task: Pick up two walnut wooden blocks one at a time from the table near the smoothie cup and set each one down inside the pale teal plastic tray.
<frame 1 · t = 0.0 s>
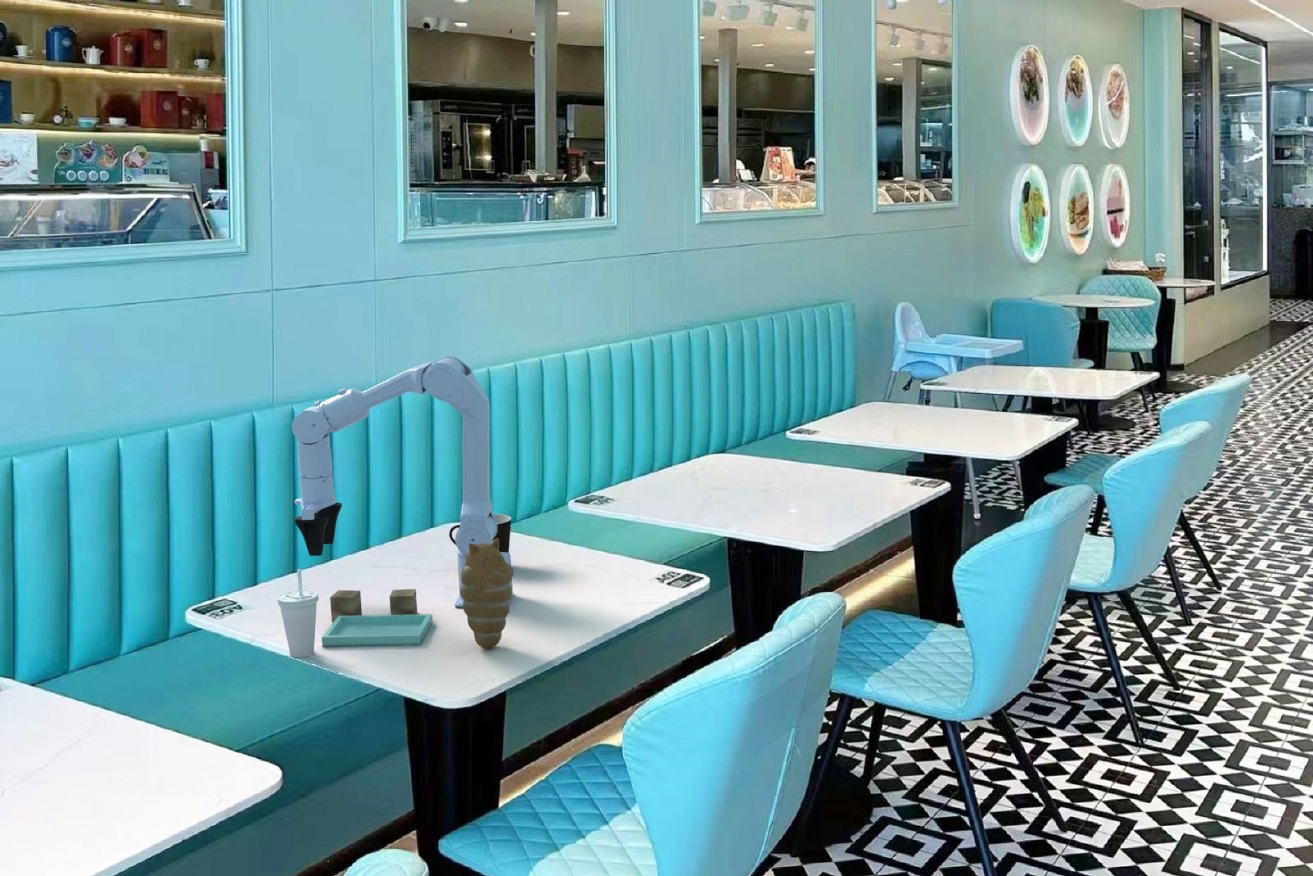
hand: (321, 549, 235), 10 cm above the table, tool pointing down, fingers open, 7 cm apart
smoothie: (302, 654, 212), on the table
block b: (347, 618, 229), on the table
tray: (378, 634, 220), on the table
coffee mug: (485, 569, 258), on the table
cat ice cream: (488, 649, 212), on the table
block a: (404, 617, 229), on the table
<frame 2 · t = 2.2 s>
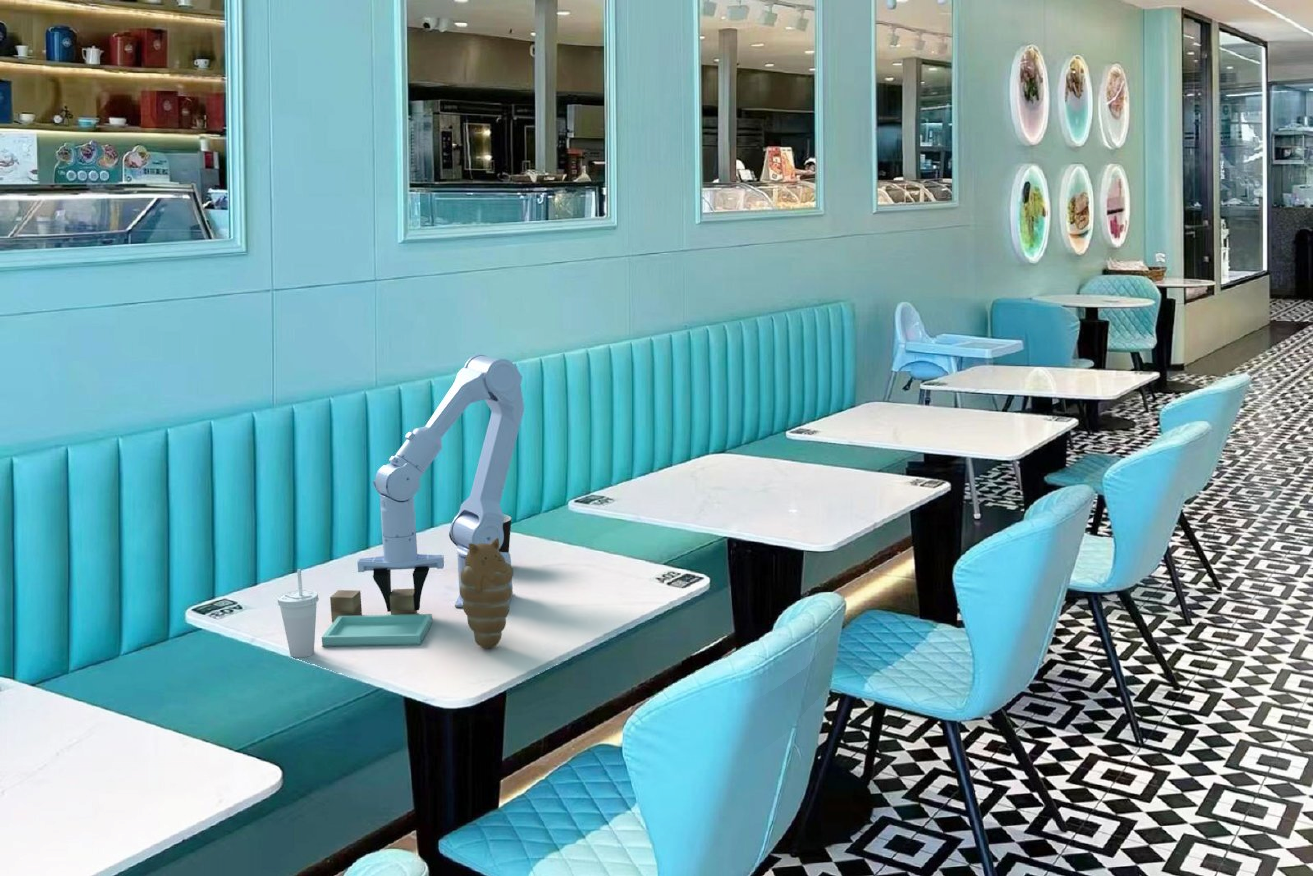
hand: (403, 609, 228), 1 cm above the table, tool pointing down, fingers closed on block a, 4 cm apart
block a: (404, 617, 229), on the table, touching gripper
everything else where it was.
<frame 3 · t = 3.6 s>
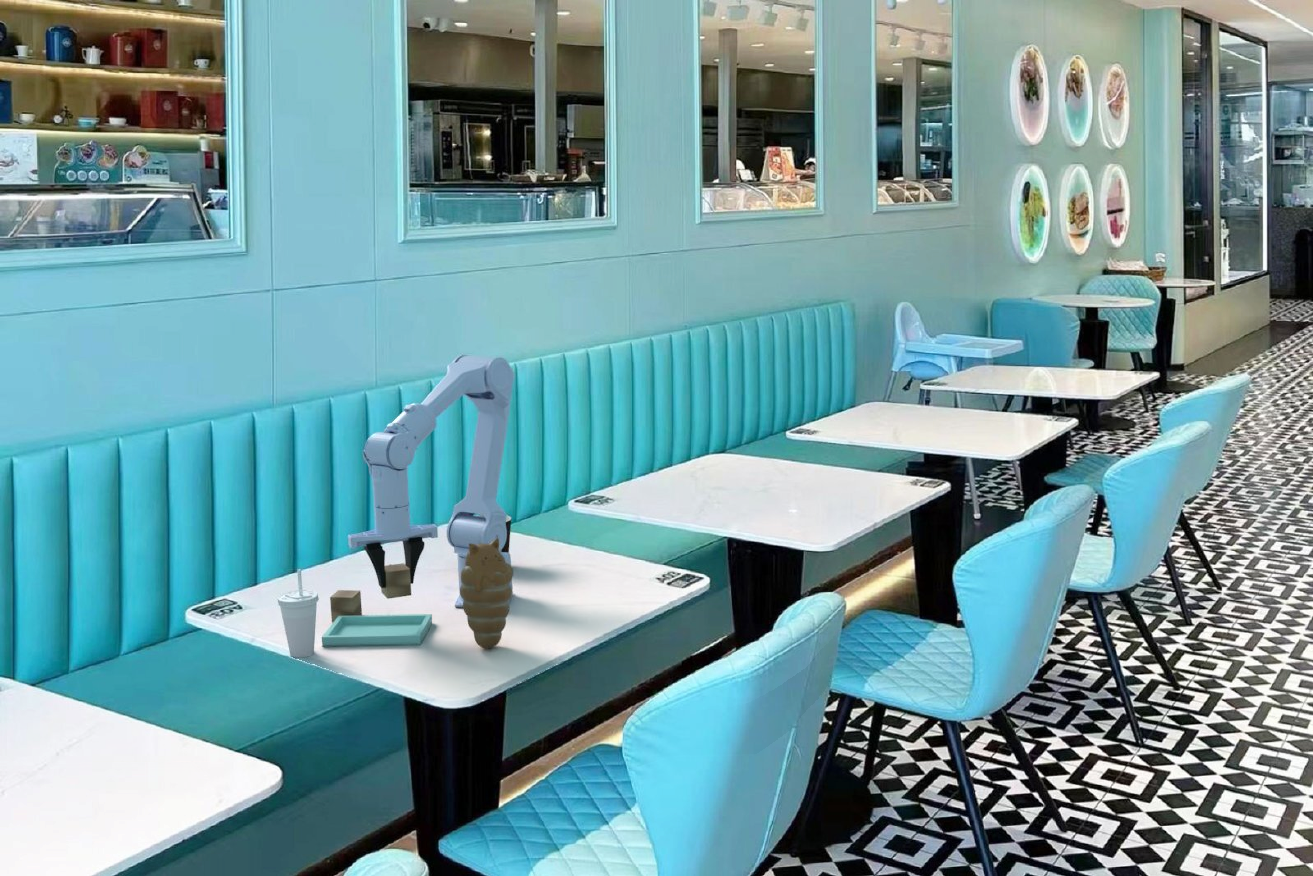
hand: (396, 584, 219), 8 cm above the table, tool pointing down, fingers closed on block a, 4 cm apart
block a: (396, 593, 219), point 7 cm above the table, touching gripper
everything else where it was.
when the fingers open (3 cm above the table, at t = 5.0 s): block a drops 1 cm, resting on tray.
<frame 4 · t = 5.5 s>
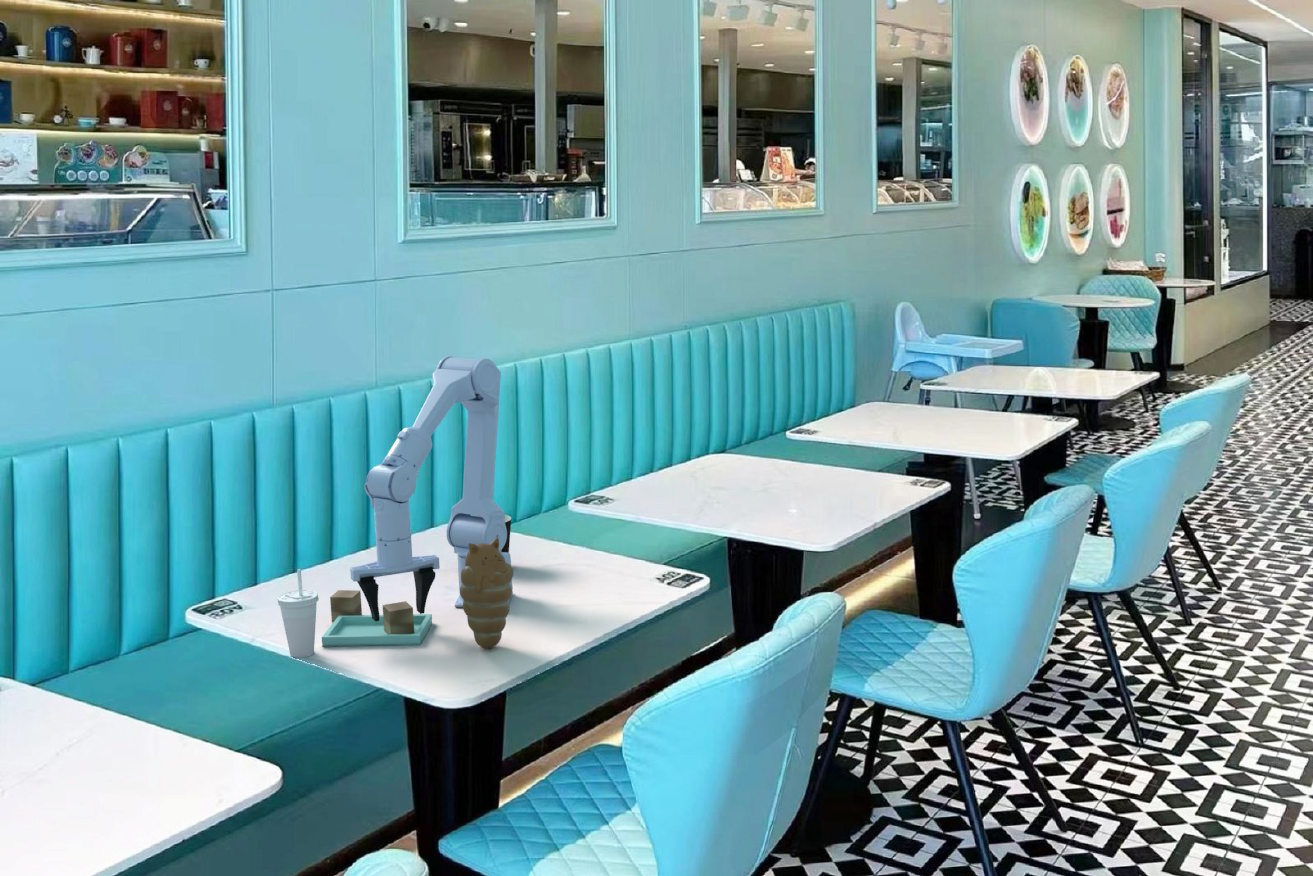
hand: (398, 615, 219), 3 cm above the table, tool pointing down, fingers open, 7 cm apart
block a: (399, 632, 220), resting on tray
everything else where it was.
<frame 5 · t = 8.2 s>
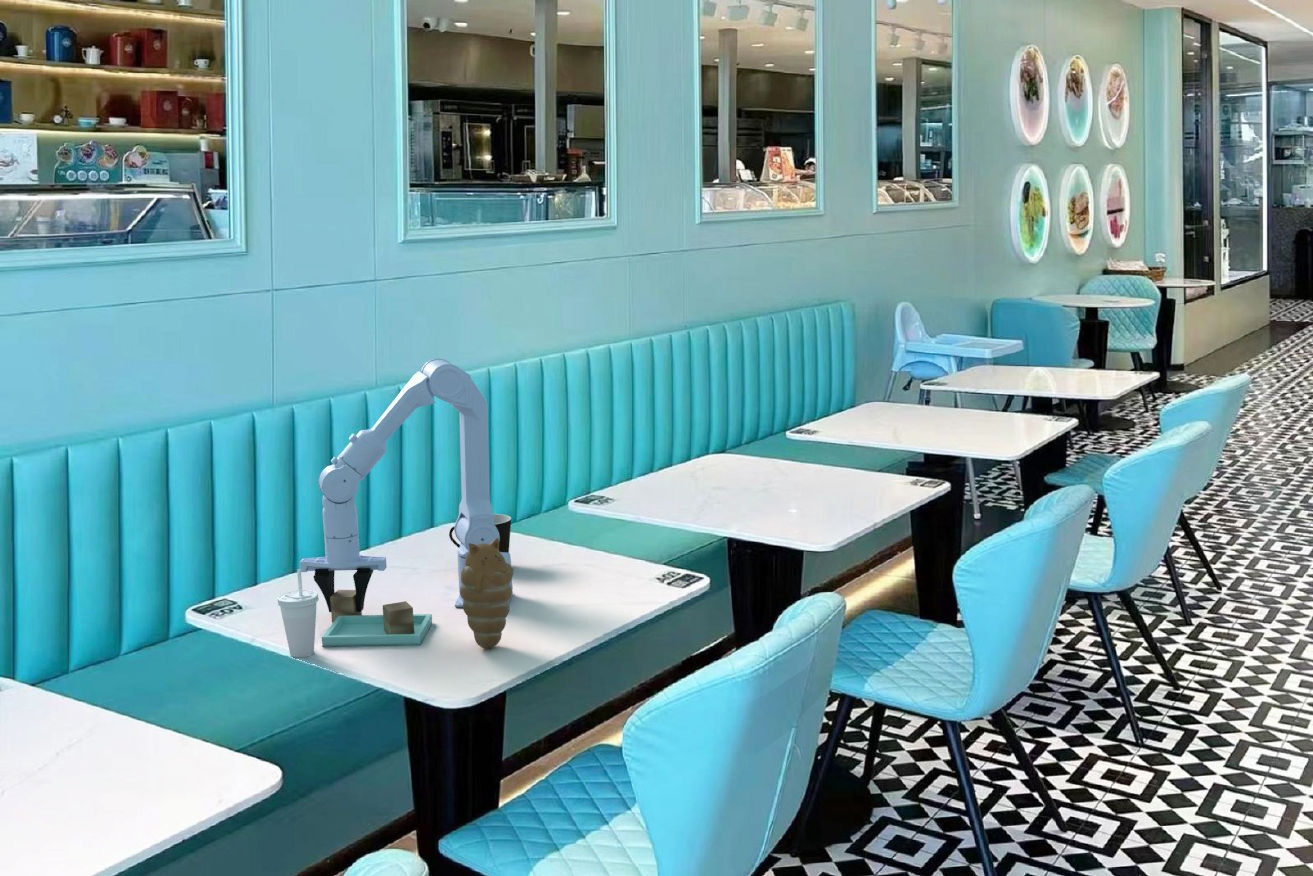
hand: (346, 610, 229), 1 cm above the table, tool pointing down, fingers closed on block b, 4 cm apart
block b: (347, 618, 229), on the table, touching gripper
everything else where it was.
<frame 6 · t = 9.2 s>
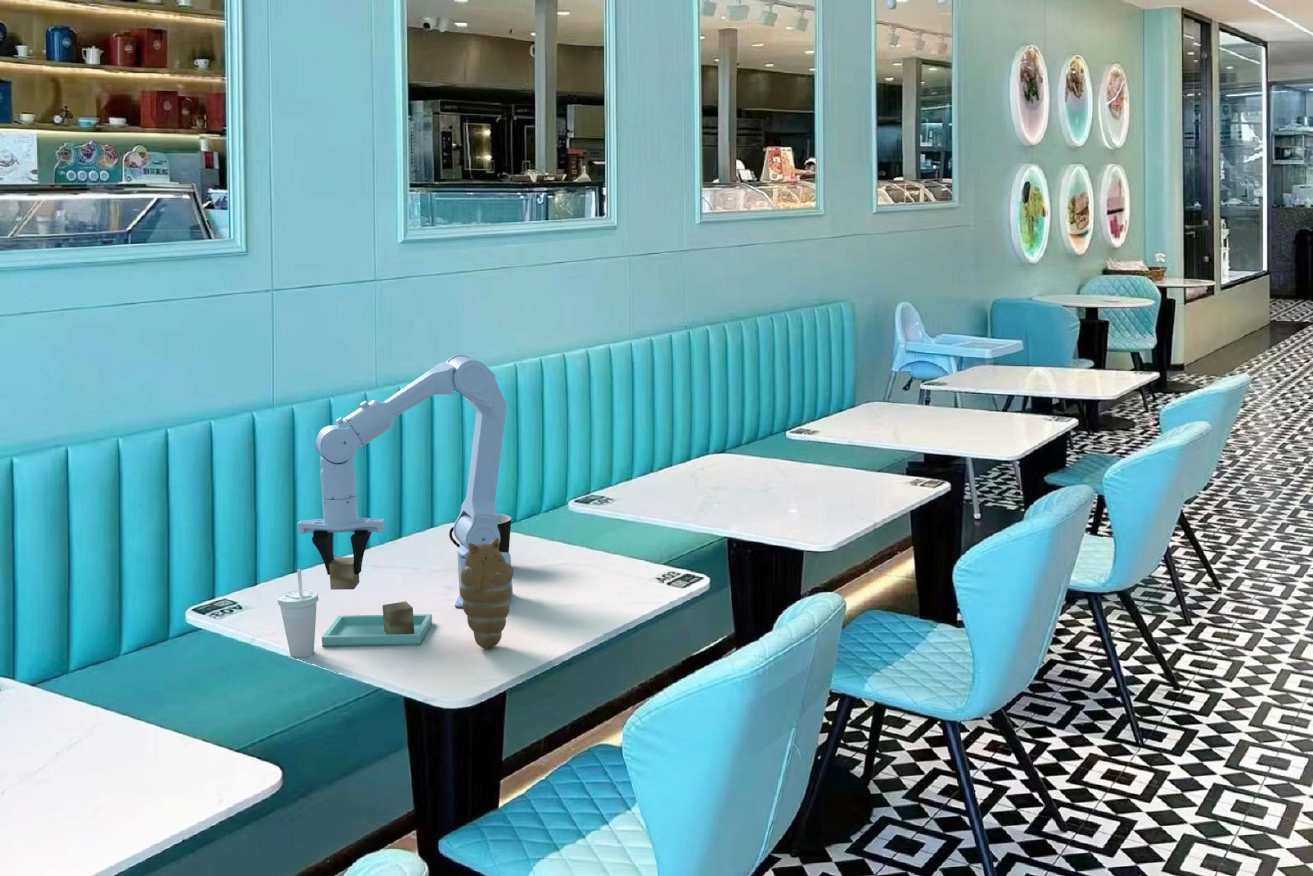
hand: (344, 573, 226), 8 cm above the table, tool pointing down, fingers closed on block b, 4 cm apart
block b: (345, 585, 227), point 6 cm above the table, touching gripper
everything else where it was.
when the fingers open (3 cm above the table, at t = 11.0 s): block b stays where it is, resting on tray.
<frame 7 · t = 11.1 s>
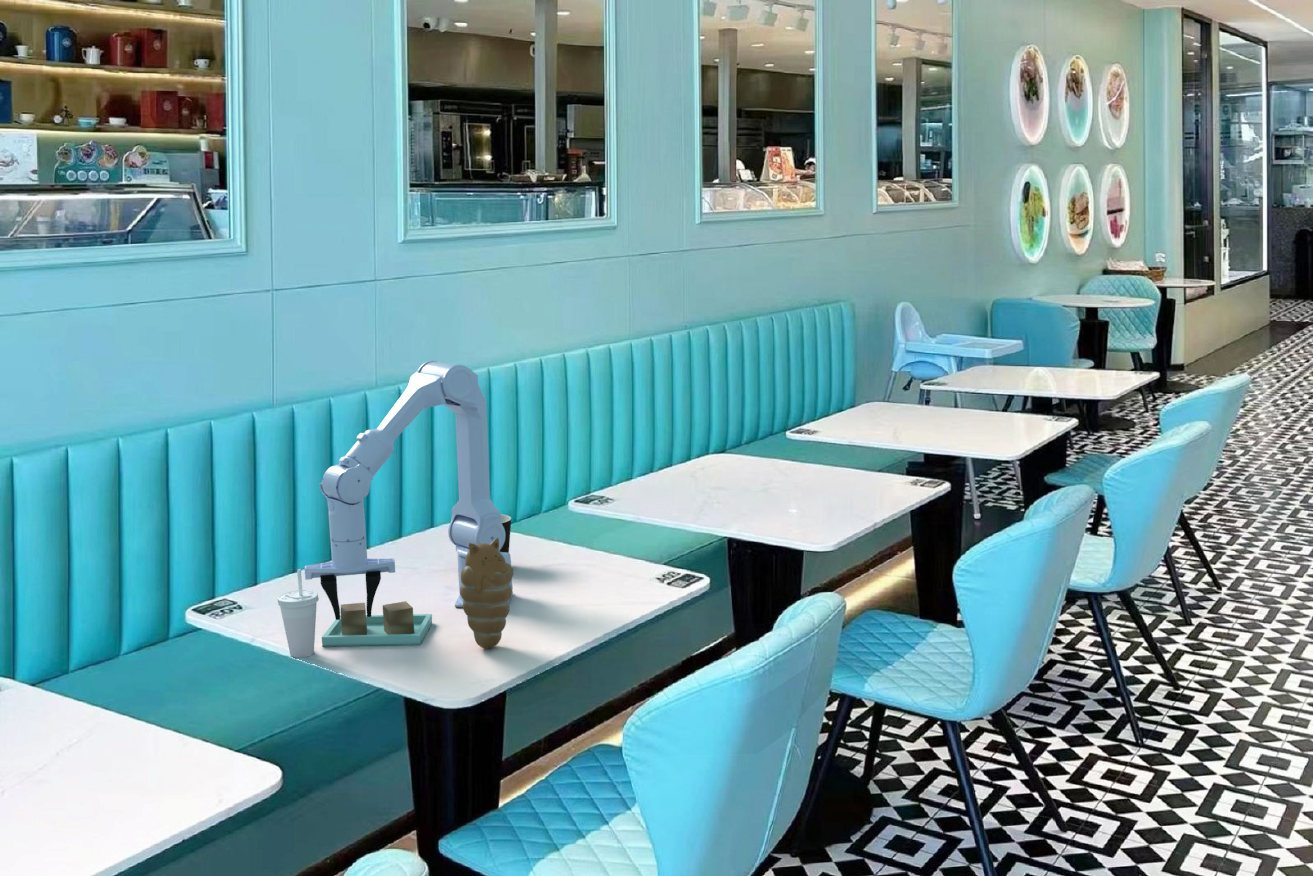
hand: (353, 616, 219), 3 cm above the table, tool pointing down, fingers open, 4 cm apart
block b: (354, 632, 220), resting on tray
everything else where it was.
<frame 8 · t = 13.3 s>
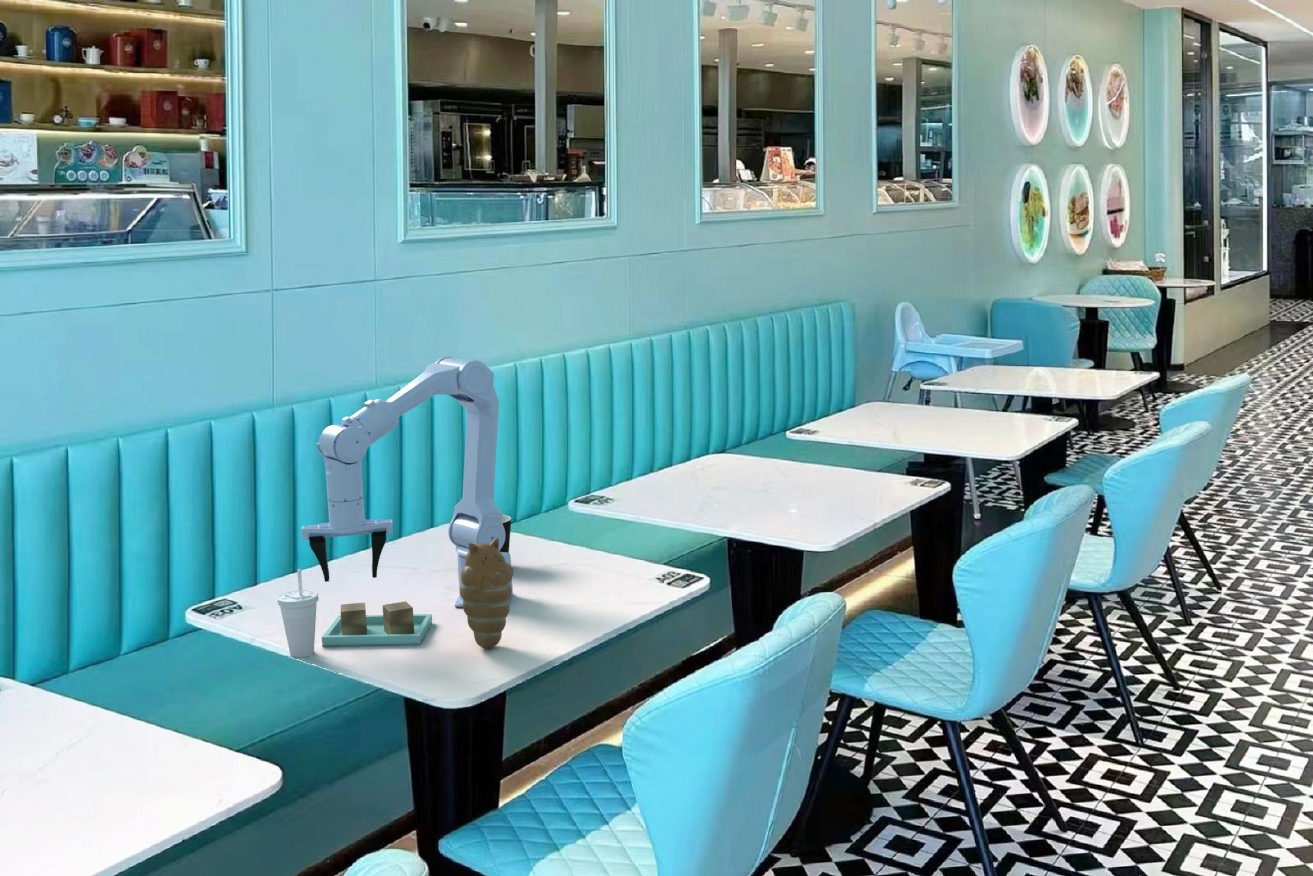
hand: (350, 578, 218), 10 cm above the table, tool pointing down, fingers open, 7 cm apart
nothing on the table moved.
at the end: block a inside the target area (3.4 cm from its centre), resting on tray; block b inside the target area (4.1 cm from its centre), resting on tray; smoothie moved 0.2 cm from its start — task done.
